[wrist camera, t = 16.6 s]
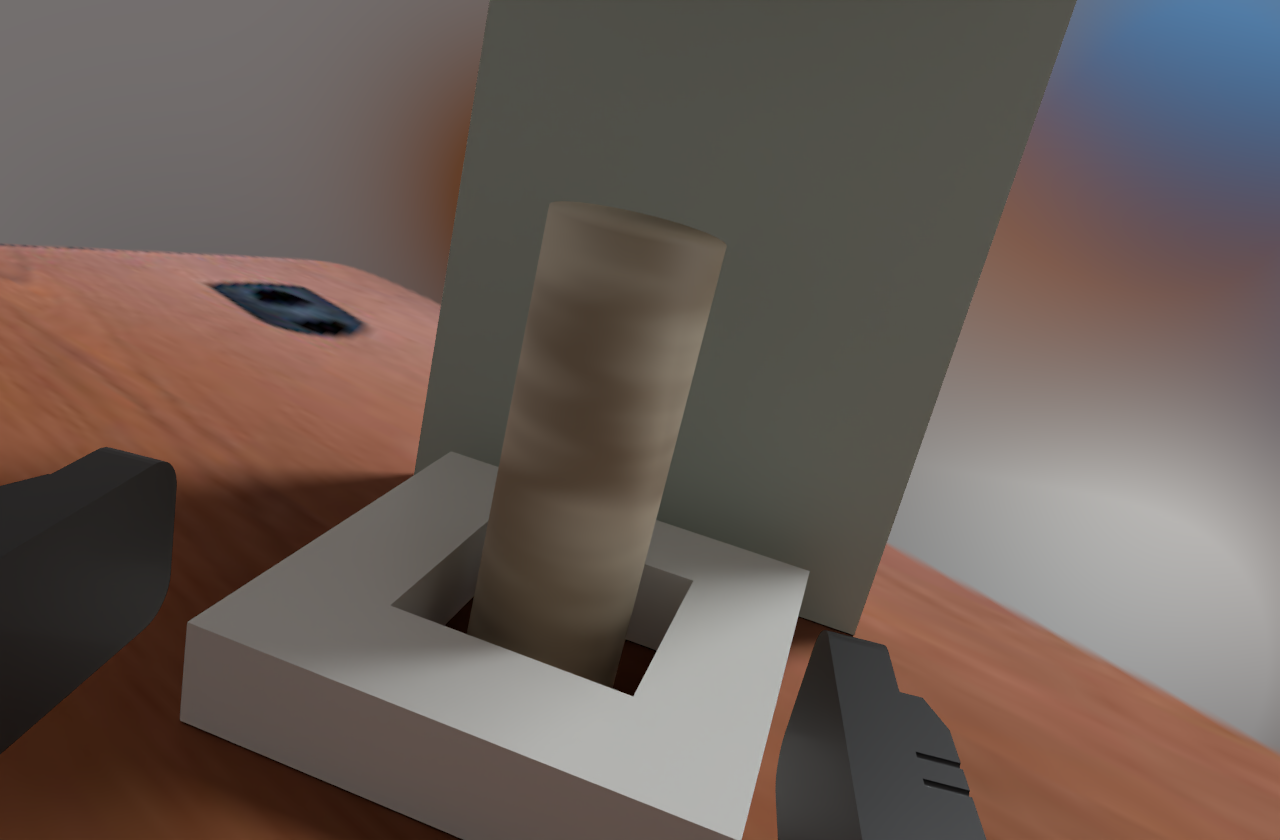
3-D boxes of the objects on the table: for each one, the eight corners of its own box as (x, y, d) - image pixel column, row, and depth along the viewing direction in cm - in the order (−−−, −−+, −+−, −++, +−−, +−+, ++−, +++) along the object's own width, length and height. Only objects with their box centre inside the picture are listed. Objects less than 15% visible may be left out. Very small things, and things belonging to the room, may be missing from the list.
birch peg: (432, 689, 23) (520, 206, 19) (498, 615, 27) (584, 197, 23) (582, 748, 23) (706, 257, 19) (629, 663, 26) (741, 239, 22)
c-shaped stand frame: (22, 740, 19) (42, -1258, 10) (429, 472, 35) (573, -404, 26) (795, 1082, 16) (1769, -1348, 7) (856, 618, 32) (1183, -319, 23)
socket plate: (179, 719, 20) (186, 622, 20) (439, 519, 32) (451, 451, 31) (707, 942, 18) (740, 841, 17) (787, 641, 29) (809, 571, 28)
